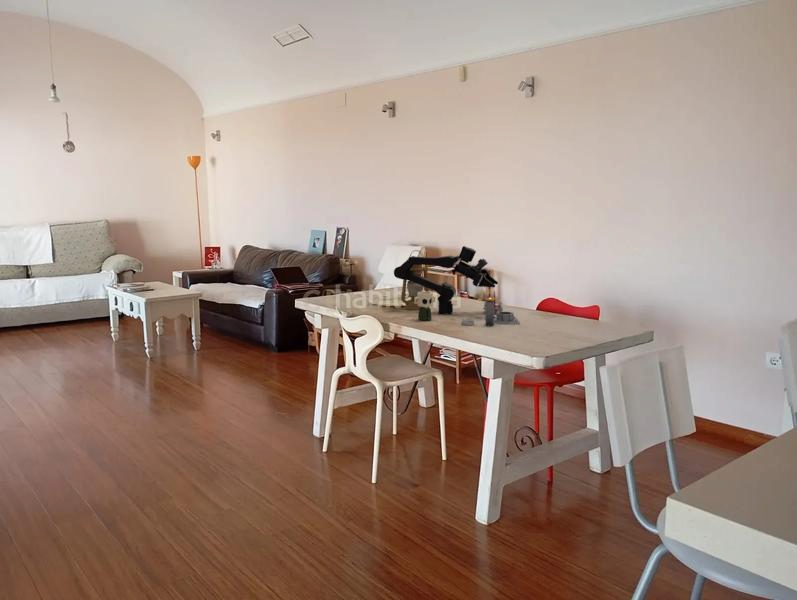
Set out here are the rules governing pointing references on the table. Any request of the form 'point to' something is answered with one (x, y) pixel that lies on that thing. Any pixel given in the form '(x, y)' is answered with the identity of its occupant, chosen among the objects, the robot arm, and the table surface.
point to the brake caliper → (496, 307)
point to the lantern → (414, 287)
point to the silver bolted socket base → (505, 318)
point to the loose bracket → (467, 321)
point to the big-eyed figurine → (424, 304)
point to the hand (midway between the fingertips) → (496, 284)
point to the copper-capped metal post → (489, 311)
